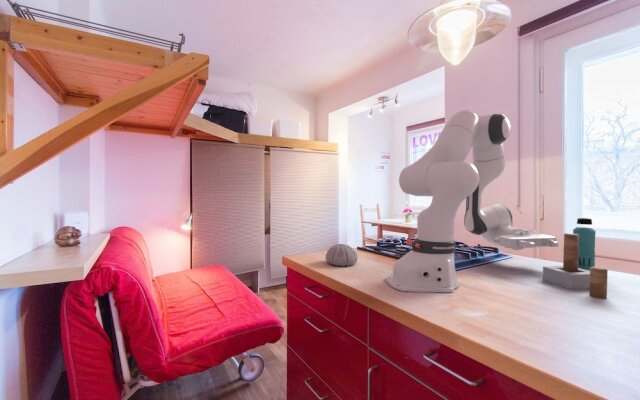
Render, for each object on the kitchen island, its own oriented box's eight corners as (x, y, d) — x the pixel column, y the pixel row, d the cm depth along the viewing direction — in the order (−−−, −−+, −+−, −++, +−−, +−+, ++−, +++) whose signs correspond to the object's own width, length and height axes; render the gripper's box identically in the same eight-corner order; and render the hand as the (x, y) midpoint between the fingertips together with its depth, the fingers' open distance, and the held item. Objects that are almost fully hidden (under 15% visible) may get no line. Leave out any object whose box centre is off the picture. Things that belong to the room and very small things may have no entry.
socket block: (571, 289, 90) (571, 274, 90) (542, 279, 100) (543, 266, 100) (600, 288, 91) (600, 273, 91) (569, 278, 101) (569, 265, 101)
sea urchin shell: (347, 258, 131) (347, 240, 131) (364, 265, 119) (364, 245, 118) (320, 261, 125) (319, 243, 125) (335, 269, 113) (334, 248, 113)
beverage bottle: (585, 270, 111) (586, 217, 111) (600, 275, 105) (601, 219, 104) (566, 270, 112) (568, 217, 111) (580, 275, 105) (581, 218, 105)
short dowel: (599, 298, 82) (599, 270, 82) (585, 294, 86) (586, 267, 85) (610, 298, 83) (611, 269, 82) (596, 293, 86) (597, 266, 86)
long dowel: (570, 285, 93) (571, 235, 93) (559, 282, 97) (561, 233, 96) (580, 285, 94) (582, 235, 93) (569, 281, 97) (571, 233, 97)
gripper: (490, 231, 117) (517, 236, 104) (537, 230, 120) (570, 235, 106) (490, 247, 118) (517, 254, 104) (537, 245, 120) (569, 253, 106)
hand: (544, 245), depth 105 cm, fingers open, 8 cm apart
